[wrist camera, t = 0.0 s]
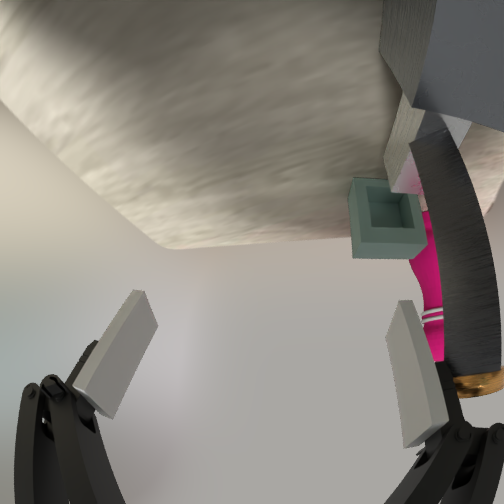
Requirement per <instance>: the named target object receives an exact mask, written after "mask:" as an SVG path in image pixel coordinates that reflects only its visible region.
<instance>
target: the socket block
mask: <svg viewBox="0 0 504 504" xmlns="http://www.w3.org/2000/svg"><path fill="white" fill-rule="evenodd" d="M348 206H349V216H350V227H351V240H352V254H353V258H367V259H368V258H369V259H414V258H415V257H416V256H417V255H418V254H419V253H420V252H421V251H422V250H423V249H424V248H425V247H426V246H427V245H428V242H427V236H426V231H425V226H424V221H423V216H422V212H421V207H420V203H419V199H418V195H417V194H407V193H394V192H391V190H390V185H389V181H388V180H386V179H372V178H355V177H353V181H352V185H351V188H350V192H349V196H348Z"/></svg>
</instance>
